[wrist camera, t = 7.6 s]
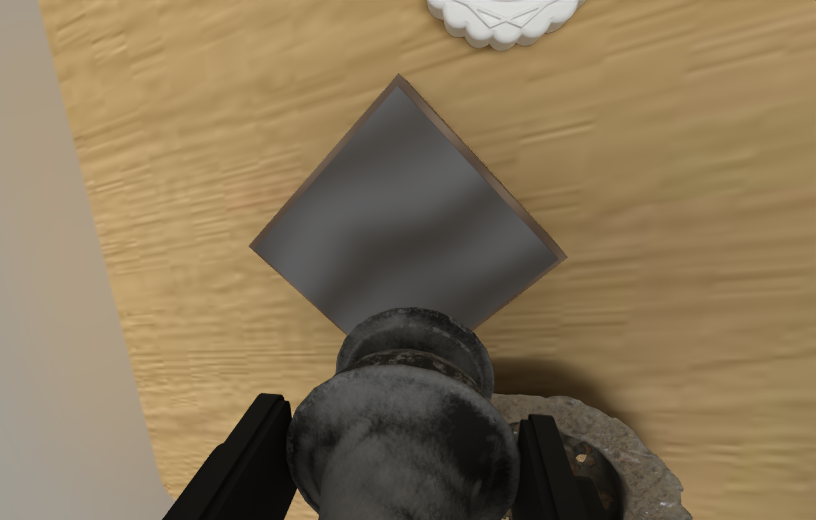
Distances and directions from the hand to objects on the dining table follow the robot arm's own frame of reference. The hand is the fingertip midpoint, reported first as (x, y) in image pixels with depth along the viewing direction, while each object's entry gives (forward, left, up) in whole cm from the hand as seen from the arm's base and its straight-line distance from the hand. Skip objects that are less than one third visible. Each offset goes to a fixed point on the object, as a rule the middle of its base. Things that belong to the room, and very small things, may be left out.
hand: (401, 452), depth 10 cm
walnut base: (+1, +2, -22) cm, 22 cm away
